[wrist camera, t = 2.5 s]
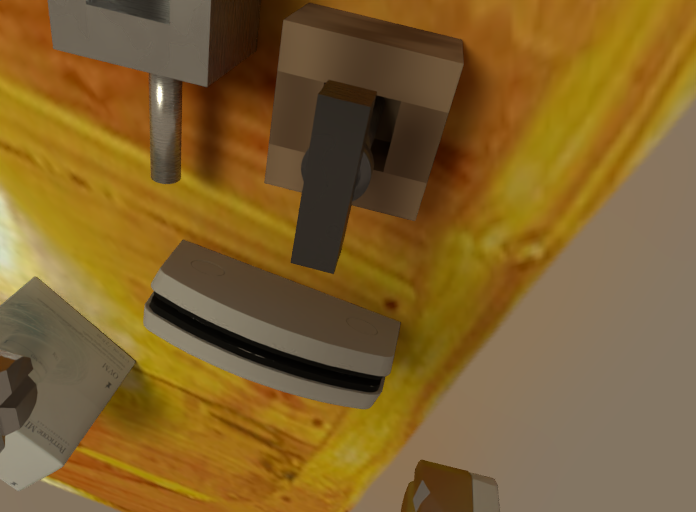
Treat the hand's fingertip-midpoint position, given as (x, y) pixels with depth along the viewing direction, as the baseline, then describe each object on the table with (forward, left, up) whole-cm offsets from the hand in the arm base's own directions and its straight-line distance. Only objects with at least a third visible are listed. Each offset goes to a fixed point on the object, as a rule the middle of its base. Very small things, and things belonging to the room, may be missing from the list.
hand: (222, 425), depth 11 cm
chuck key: (0, 0, -21) cm, 21 cm away
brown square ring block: (0, 0, -22) cm, 22 cm away
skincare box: (+20, +25, -23) cm, 39 cm away
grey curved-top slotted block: (+2, +15, -23) cm, 27 cm away
